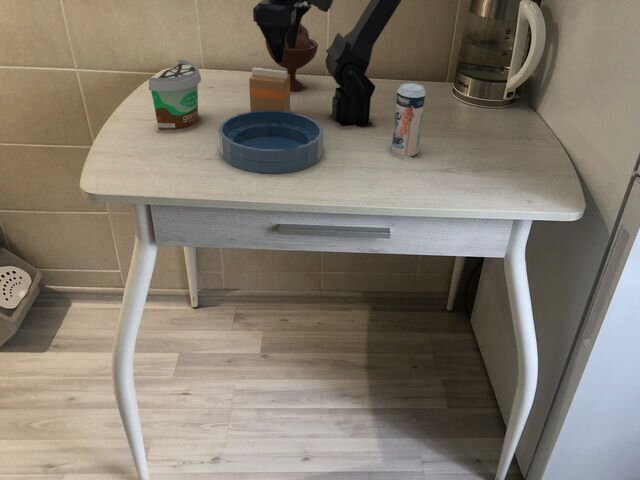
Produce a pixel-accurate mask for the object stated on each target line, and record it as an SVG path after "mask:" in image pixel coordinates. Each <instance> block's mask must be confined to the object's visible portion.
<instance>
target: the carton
mask: <svg viewBox="0 0 640 480" xmlns="http://www.w3.org/2000/svg"><path fill="white" fill-rule="evenodd" d="M251 74H252V75H251V76H250V77H249V79H248V80H249V83H248V85H249V108H250V111H261V110H276V111H286V112H291V91H290V74H288V71H287V70H282V69H281V70H280V69H271V68H263V67H252V69H251Z"/></svg>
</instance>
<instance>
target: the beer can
mask: <svg viewBox="0 0 640 480" xmlns="http://www.w3.org/2000/svg"><path fill="white" fill-rule="evenodd" d="M426 94H427V93H426V90H425V86H423V85H422V84H419V83H415V82H404V83H401V85H400V86H399V88H398V89H397V93H396V102H395V111H394V112H395V113H394V123H393V131H392V141H391V151H392V153H394V154H396V155H399V156H403V157H410V158H411V157H413V156H415V155H417V154H418V152H419V144H420V136H421V129H422V124H423V123H422V122H423V114H424V107H425V101H426V100H425V99H426Z"/></svg>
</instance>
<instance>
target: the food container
mask: <svg viewBox="0 0 640 480" xmlns="http://www.w3.org/2000/svg"><path fill="white" fill-rule="evenodd" d="M177 60H178V61H177V62H178V64H177V65H176V66H174V67H172V68H169V69H166V70H164V71H163V72H162V73H161V74H160V75H159V76H158V77H151V76H148V91H151V97H152V102H153V108H154V113H155V117H156V123H157V127H158V130H164V131H174V130H183V129H187V128H190V127H192V126H194V125H196V124H197V123H198V122H199V92H198V91H199V90H198V89H199V84H200V83H201V81H202V76H201V74H200V70H199V69H198V67H197V65H196V64H195V63H193V62H191V61H189V60H187V59H186V60H185V59H181V58H178V59H177Z"/></svg>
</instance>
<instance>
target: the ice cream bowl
mask: <svg viewBox="0 0 640 480" xmlns="http://www.w3.org/2000/svg"><path fill="white" fill-rule="evenodd" d="M265 46H266V50H267V52H268V54H269V56H270V57H271V59H272V60H273V61H274V62H275V63H276V64H277V65H278V66H280V67H281V68H284V69H286V71H287V74H290V92H300V91H303V90H304V89H305V85H304V83H303V82H301V81H299V80H298V79H297V78H296V77H297V75H296V73H297V71H298V70H299V69H301V68H303V67H305V66H306V65H308V64H309V63H310V62H311V61H312V60H313V59H314V58H315V56H316V54H317V52H318V48H319V44H318V43H317V41H316V40H315V39H311V38H310V35H309V31H308V28H306V27H305V26H304V25H303V24H302V23H301V24H300V28H299V32H298V37H297V41H296V45H295V48H289V47H288V44H287V41H286V44H285V51H284V57H283V62H282V63H278V62H276V61H275V59H274V56H273V54H272V52H271V50H270V48H269V45H268V43H267V41H266V40H265Z"/></svg>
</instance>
